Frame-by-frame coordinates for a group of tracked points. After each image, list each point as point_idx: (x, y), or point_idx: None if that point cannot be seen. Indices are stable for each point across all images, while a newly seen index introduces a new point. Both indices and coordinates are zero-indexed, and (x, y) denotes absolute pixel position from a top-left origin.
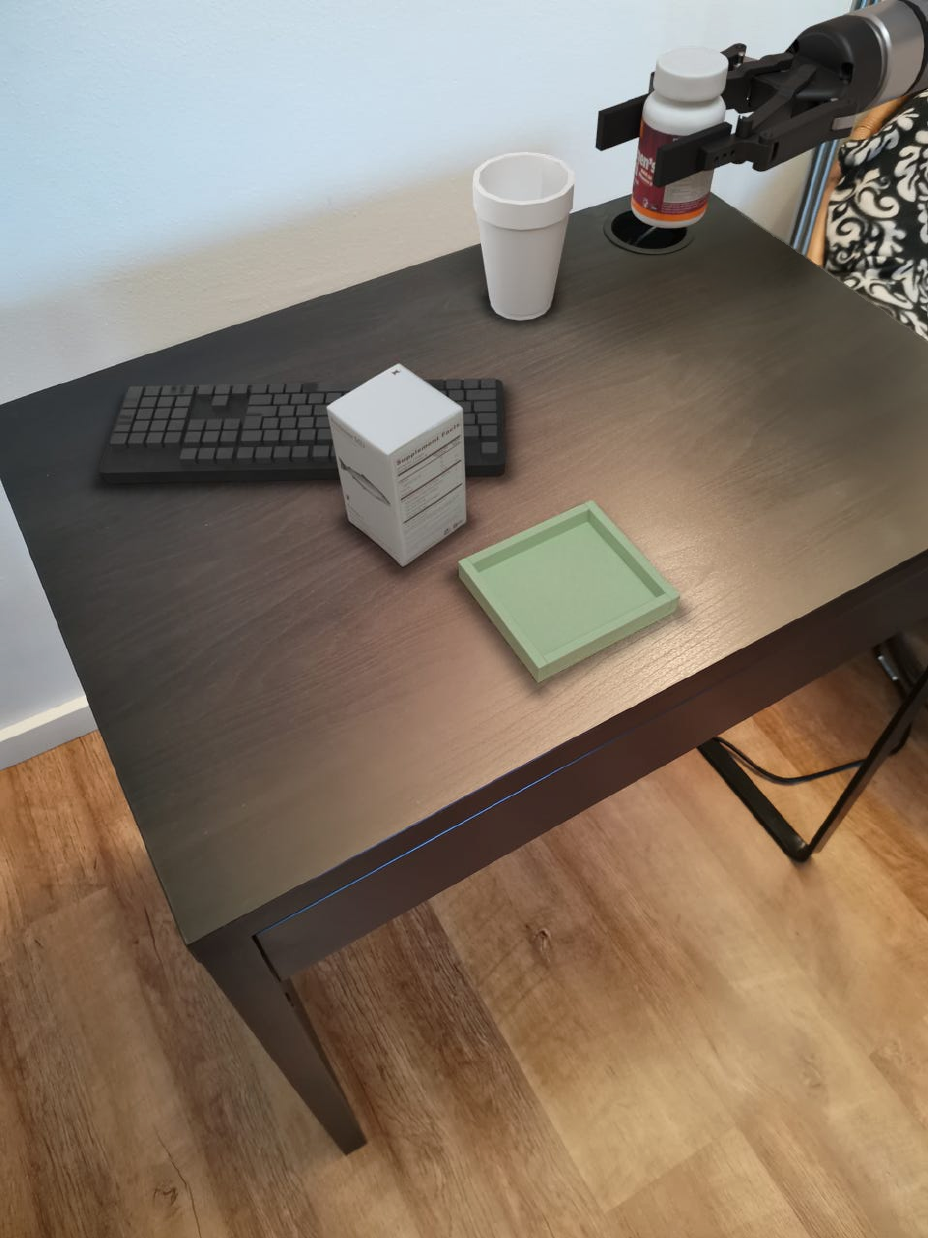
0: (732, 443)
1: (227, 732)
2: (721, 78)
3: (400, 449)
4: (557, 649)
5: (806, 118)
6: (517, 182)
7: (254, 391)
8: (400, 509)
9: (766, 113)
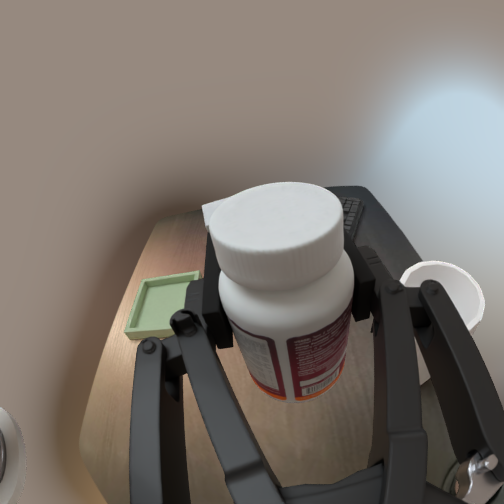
0: (190, 434)
1: (197, 222)
2: (213, 243)
3: (202, 209)
4: (142, 286)
5: (140, 436)
6: (468, 312)
7: (344, 226)
8: None
9: (202, 389)
